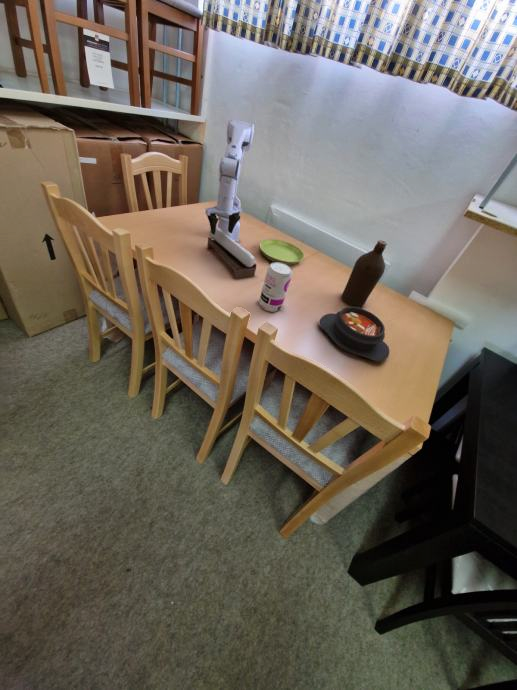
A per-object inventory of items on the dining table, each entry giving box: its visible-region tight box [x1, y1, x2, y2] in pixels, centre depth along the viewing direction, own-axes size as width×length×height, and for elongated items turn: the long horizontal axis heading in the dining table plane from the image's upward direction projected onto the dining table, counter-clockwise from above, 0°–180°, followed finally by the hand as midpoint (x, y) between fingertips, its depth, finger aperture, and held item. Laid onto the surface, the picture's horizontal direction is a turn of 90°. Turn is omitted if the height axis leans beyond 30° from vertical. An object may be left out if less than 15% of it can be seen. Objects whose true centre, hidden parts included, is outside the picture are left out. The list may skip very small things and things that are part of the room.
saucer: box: [259, 238, 305, 266], centre depth 132 cm, size 21×21×3 cm
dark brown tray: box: [206, 236, 258, 280], centre depth 118 cm, size 9×24×5 cm, turn 34°
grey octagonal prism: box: [209, 226, 256, 267], centre depth 115 cm, size 5×5×25 cm
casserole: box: [318, 306, 390, 362], centre depth 96 cm, size 25×19×8 cm
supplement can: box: [258, 262, 293, 313], centre depth 98 cm, size 8×8×15 cm
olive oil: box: [340, 239, 388, 309], centre depth 110 cm, size 11×11×25 cm
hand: (221, 232), depth 115 cm, fingers open, 7 cm apart
